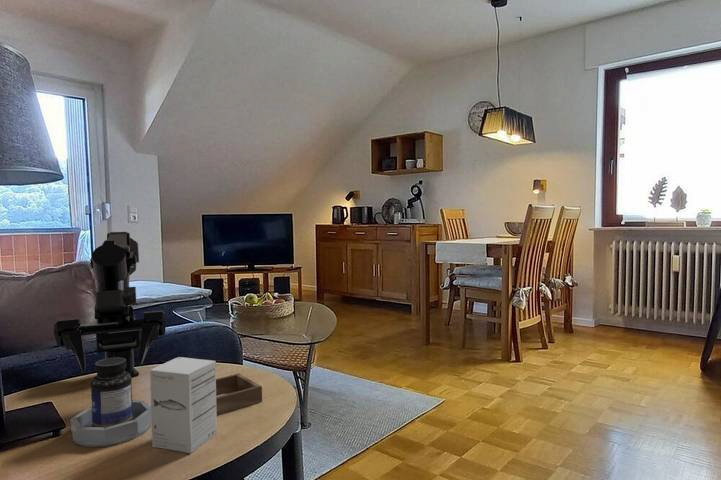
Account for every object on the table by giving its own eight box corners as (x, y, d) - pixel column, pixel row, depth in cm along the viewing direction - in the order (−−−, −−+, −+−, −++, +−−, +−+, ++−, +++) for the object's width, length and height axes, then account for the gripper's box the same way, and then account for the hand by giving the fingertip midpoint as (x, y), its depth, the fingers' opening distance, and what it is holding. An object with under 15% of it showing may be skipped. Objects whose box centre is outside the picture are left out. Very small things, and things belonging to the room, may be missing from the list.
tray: (67, 428, 82) (66, 412, 82) (140, 409, 89) (139, 394, 89) (80, 454, 73) (79, 437, 73) (160, 431, 80) (159, 415, 80)
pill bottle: (94, 421, 83) (91, 358, 82) (133, 414, 85) (131, 353, 85) (90, 436, 77) (88, 369, 76) (132, 428, 80) (130, 364, 79)
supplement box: (150, 448, 75) (147, 369, 74) (181, 427, 82) (179, 355, 81) (190, 455, 72) (187, 373, 72) (219, 433, 79) (216, 359, 79)
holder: (191, 399, 94) (191, 384, 94) (239, 387, 100) (238, 373, 100) (212, 416, 86) (212, 400, 86) (262, 401, 93) (261, 386, 92)
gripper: (52, 276, 87) (45, 352, 77) (163, 270, 94) (168, 338, 85) (60, 310, 94) (55, 383, 85) (162, 302, 102) (167, 368, 93)
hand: (112, 367), depth 87 cm, fingers open, 9 cm apart
